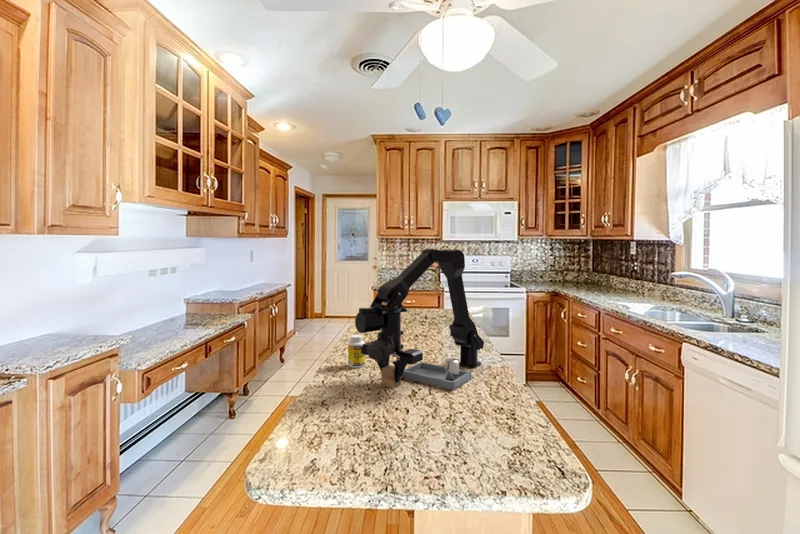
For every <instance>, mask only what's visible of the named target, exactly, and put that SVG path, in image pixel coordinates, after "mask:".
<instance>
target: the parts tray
mask: <svg viewBox="0 0 800 534" xmlns="http://www.w3.org/2000/svg"><path fill="white" fill-rule="evenodd" d="M401 379H405V380H408V381H409V380H410V381H414V382H417V383H421V384H425V385H429V386H433V387H437V388H442V389H444V390H445V389H446V390H451V391H455V390H457V389H458V388H460V387H462V386H463V385H465V384H467V383H468V382H469V381H471V380H472V372H471V371H466V370H462V369H459V378H458V379H456V380H454V381H453V382H452V381H448V380H445V366H442V365H438V364H434V363H429V362H424V361H419V362H417V363H415V364H412V365H411V366H409V367H405V369H404V371H403V374H402V376H401Z"/></svg>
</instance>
